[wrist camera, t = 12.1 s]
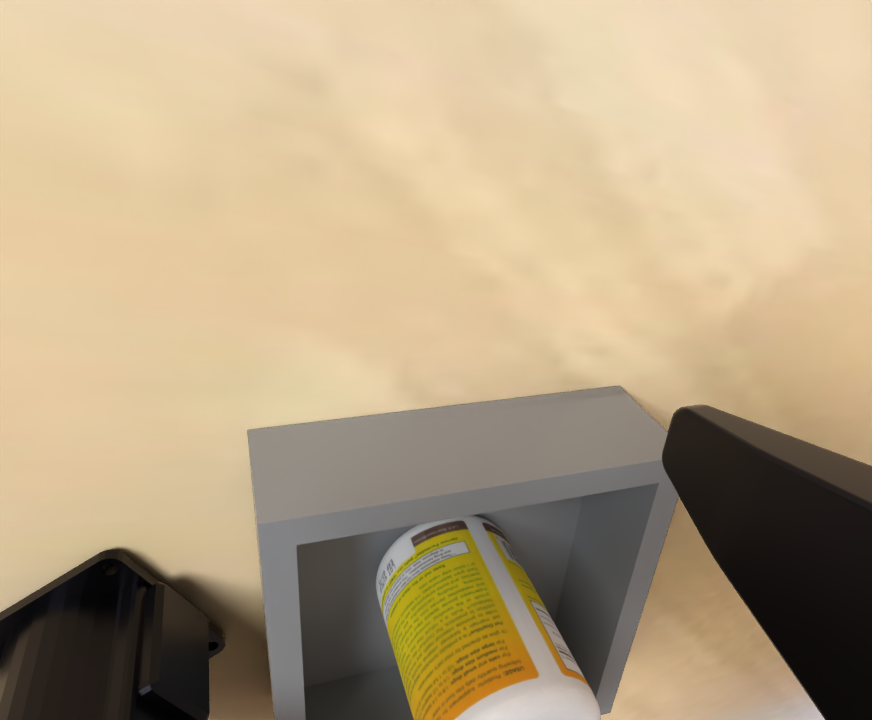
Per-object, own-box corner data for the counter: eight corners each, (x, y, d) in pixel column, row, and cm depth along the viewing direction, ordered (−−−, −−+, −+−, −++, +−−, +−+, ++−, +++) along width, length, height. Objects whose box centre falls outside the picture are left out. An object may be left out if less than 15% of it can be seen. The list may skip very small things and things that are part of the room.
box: (562, 628, 32) (610, 712, 28) (271, 696, 28) (282, 805, 24) (619, 385, 25) (691, 455, 22) (247, 430, 21) (257, 524, 18)
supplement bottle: (349, 602, 26) (422, 903, 17) (410, 494, 24) (525, 771, 16) (464, 615, 28) (577, 883, 20) (528, 518, 27) (681, 767, 18)
